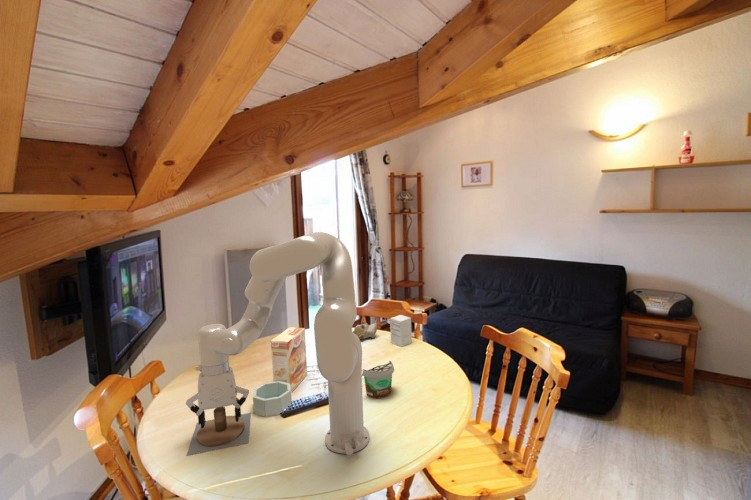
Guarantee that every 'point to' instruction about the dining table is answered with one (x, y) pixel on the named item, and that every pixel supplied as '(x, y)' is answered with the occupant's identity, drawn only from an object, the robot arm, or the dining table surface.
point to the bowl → (271, 398)
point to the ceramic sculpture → (365, 330)
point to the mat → (242, 439)
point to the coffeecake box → (289, 357)
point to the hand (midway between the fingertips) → (220, 422)
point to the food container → (379, 380)
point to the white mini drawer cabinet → (400, 330)
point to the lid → (220, 429)
